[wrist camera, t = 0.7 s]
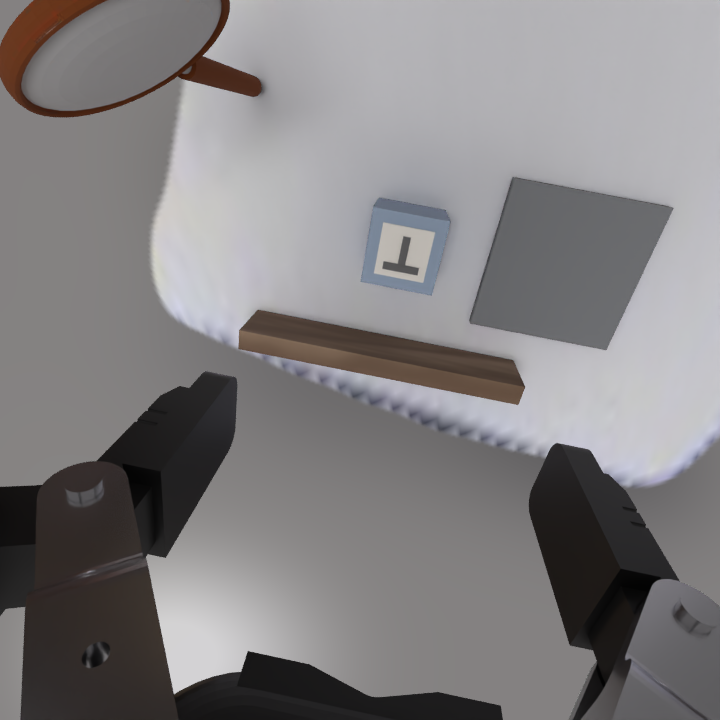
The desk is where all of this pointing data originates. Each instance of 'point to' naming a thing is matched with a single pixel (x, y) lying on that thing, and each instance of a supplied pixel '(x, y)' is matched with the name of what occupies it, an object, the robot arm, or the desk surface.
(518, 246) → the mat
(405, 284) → the letter cube
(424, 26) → the desk surface
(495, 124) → the desk surface
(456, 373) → the bar
